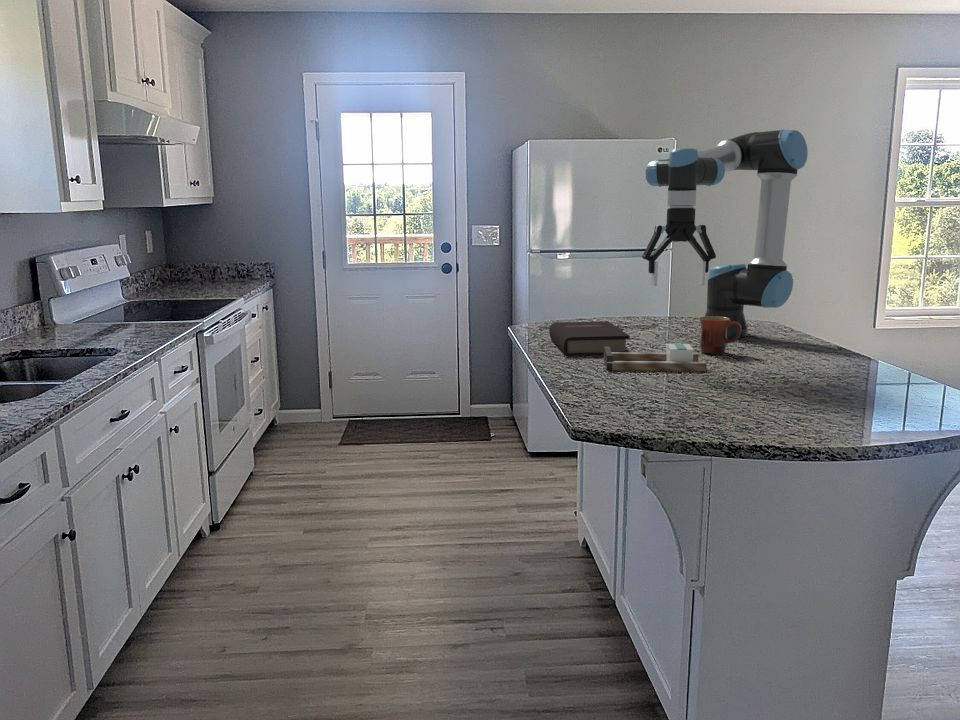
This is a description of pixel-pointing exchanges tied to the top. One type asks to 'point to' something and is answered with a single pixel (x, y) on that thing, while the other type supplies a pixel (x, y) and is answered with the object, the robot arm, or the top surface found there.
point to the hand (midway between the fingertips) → (677, 285)
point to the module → (679, 352)
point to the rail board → (648, 362)
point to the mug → (716, 334)
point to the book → (588, 337)
